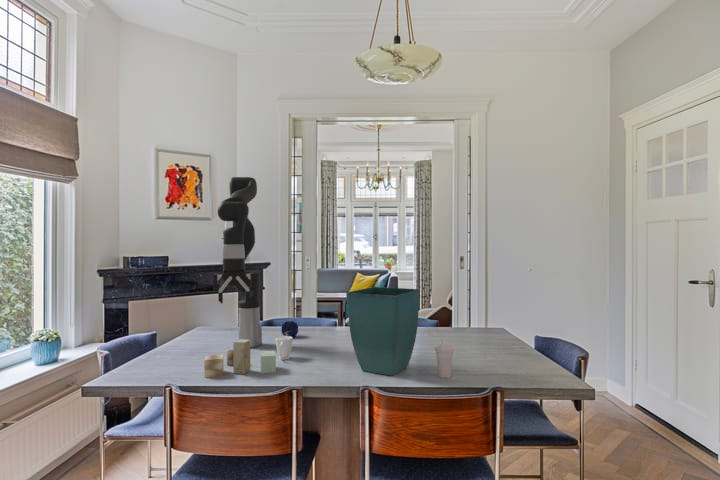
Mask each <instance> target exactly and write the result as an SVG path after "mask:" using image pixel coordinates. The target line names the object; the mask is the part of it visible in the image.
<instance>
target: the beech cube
mask: <svg viewBox="0 0 720 480" xmlns="http://www.w3.org/2000/svg"><path fill="white" fill-rule="evenodd" d="M224 368H225V367H224V354H211V355H205V356H204V378H213V377H215V378H216V377H223V376H224Z"/></svg>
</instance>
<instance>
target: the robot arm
mask: <svg viewBox="0 0 720 480" xmlns="http://www.w3.org/2000/svg"><path fill="white" fill-rule="evenodd" d="M228 186H229V195H230V196H229V197H228V198H227V199H226V198H225V199H224V200H223V201H221V202H220V203H219V205H218V207H217V216H218V217H219V219H220V220H221V221H223V222H232V227H227V228H225V229H224V230H223V233H222V234H223V237H222V239H223V244H222V245H223V247H222V273H221V274H218V273H214V275H213V281H212V282H213V283H212V284H213V285H212V291H213V292H217V294H218V295H217V297H218V302H219V303H220V304H224V301H223V300H224V297H223V294H224V293H223V291H224V290H225V289H226V287H227V286H229V287H233V286H234V288H235V291H236V292H237V293H245V295H244V296H245V297H244V299H241V300H239V302H237V303H238V304H237V305H238V314H237V315H238V340H240V339H244V340H250V349H251V348H257V347H259V346H261V345H263V332H262V331H263V330H262V329H263V327H262V326H263V325H262V323H261V319H260V318H261V317H260V316H261V314H260V311H261V309H260V308H261V307H260V293H261V292H260V289H261V275H260V272H258V271H256V270H255V271H249V270H247V271H246V265H245V264H246V259H247V258H248V256H249V255H250V253H251V251H253V248H254V247H255V243H256V235H255V234H256V233H255V232H256V231H255V230H256V229H255V226H254V225H253V223H252V222H251V221H250V219H249V217H248V216H249V213H250V212H249V210H250V209H249V205H248V204H249V203H251V201H253V199H255V197H256V195H257V192H258V185H257V181H256V179H255V178H254V177H251V176H247V177H246V176H245V177H244V176H233V177H231V178H230V179H229V185H228ZM221 278H222V280H223V284H222V285H221V286H220V287H219V288H218V281H219V280H221ZM250 293H252V294H251V295H250Z"/></svg>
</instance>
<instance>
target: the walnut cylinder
mask: <svg viewBox="0 0 720 480" xmlns="http://www.w3.org/2000/svg"><path fill="white" fill-rule="evenodd" d="M226 365H227V367H233V349H229V350H227V352H226Z"/></svg>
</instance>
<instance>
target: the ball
mask: <svg viewBox="0 0 720 480" xmlns="http://www.w3.org/2000/svg"><path fill="white" fill-rule="evenodd" d="M298 333H299V325H298V323H297V322H296V321H295V320H286V321H285V322H283V324H282V325H281V334H282V336H291V337H292V338H294V337H296V336H297V335H298Z"/></svg>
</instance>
